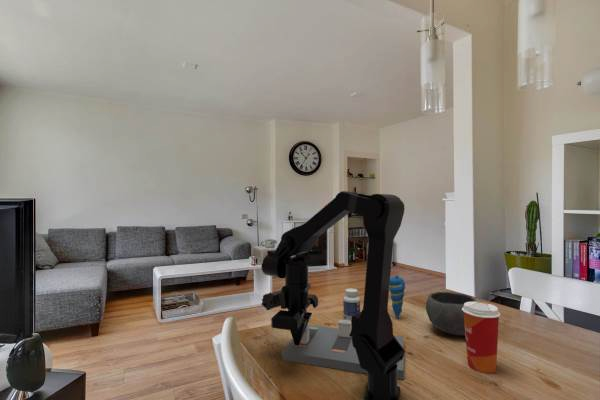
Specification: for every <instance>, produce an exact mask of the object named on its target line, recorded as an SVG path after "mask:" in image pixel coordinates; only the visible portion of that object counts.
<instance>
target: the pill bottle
mask: <svg viewBox="0 0 600 400" xmlns="http://www.w3.org/2000/svg"><path fill="white" fill-rule="evenodd" d="M344 294H345V295H344V297H343V301H342V303H343V320H348V321H351V319H352V316H353V315H355V314H358V313H360V312H361V299H360V297H359V296H358V295H359V293H358V289H356V288H346V289H345V293H344Z"/></svg>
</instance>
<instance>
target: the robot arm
mask: <svg viewBox="0 0 600 400" xmlns="http://www.w3.org/2000/svg"><path fill="white" fill-rule="evenodd" d="M349 213H352V214H354V215H358V216H362V224H363V228H364V230H365V232H366V234H367V238H368V239H367V241H368V242H367V243H368V244H367V256H366V258H367V259H366V269H365V281H364V293H363V304H362V305H363V307H362V310H361V311H360V313H358V314H355V315H353V316H352V319H351V325H352V329H351V333H350V335H349V336H352V344H353V347H354V348H355V349H356V353H357V356H358V360H359V363H360V367H361V368H362V369H365V370H366V371H367V374H366V375H367V382H366V387H365V391H364V396H363V400H401V387H400V385H398V384H399V383H398V379H397V363H398V362H399V361H401V360H402V359H403V357H404V358H405V354H406V349H405V348H404V349H403V347H402V346H401V345H400V343H399V342H398V341H397V339H396V338H395V337H394V335H395V334H394V330H393V329H394V328H393V320H392V319H391V315H390V314H389V311H388V309H389V308H388V307H389V305H388V304H389V297H390V296H389V294H390V290H389V288H390V278H391V271H392V258H393V248H394V247H393V246H394V240H395V238H396V235H397V234H398V231H399V230H400V227H401V225H402V223H403V222H402V221H403V218H404V214H405V204H404V201H403V200H402V199H401V198H400V197H399V196H397V195H394V194H389V193H388V194H387V193H385V194H384V193H373V194H369V195H368V194H364V193H358V192H356V191H349V190H348V191H347V190H346V191H345V190H343V191H340V192H338V193H337V194H336V195H335V197H334V198H333V199H331V200H330V201H329V202H328V203H327V204H325V206H324V207H322V208H321V209H320V210H319V211H318V212H316V213H315V214H314V215H313V216H312V217H311V218H309V219H308V220H307V221H306V222H304V223H303V224H300V225H299V226H295V227H293V228H291V229H289V230H287V231H285V232H284V233H283V234H281V237H280V242H279V243H278V246H277V247H276V249H271V250H267V252H266V253H267V254H266V256H265V257H263V260H262V263H261V271H262V273H263V274H264V275H266V276H270V277H273V278H278V279H285V280H284V281H285V282H284V283H285V285H283V286H282V288H281V289H280V290H277V291H274V292H271V291H270V292H269V293H265V294H263V295H262V299H261V301H262V302H261V306H263V308H264V309H266V311H271V309H274V308H275V309H276V308H277V307H280V310H279V311H278V312H276V314H274V315H273V316H272V317H271V319H270V321H271V322H270V323H271V324H270V325H271V328H272V329H278V330H286V331H289V332H290V334H291V337H292V339H293V341H294V344H295V345H299V344H300V342H301V339H302V337H303V334H304V332H305V329H306V327H307V325H309V322H310V319H311V317H312V315H313V313H312V312H308V311H307V309H308V308H309V307H310V305H312V307H313V309H316V308H317V307H318V306H319V298H318V296H317V295H316V294H314V293H313V294H312V293H311V294H310V293H309V290H310V289H311V283H309V266H312V265H315V264H316V261H315V260H314V259H313V258H312V257H311V256H310V254H305V253H309V252H310V251H311V250H312V249H313V248H314V246H315V245H316V244H317V242H318V239H319V238H320V236H322V235H323V234H324V233H326V232H327V231H328V230H329V229H331V228H332V227H333V226H335V225H336V224H337V223H338V222H339V221H341V220H342V219H343V218H345V217H346V216H347V215H349ZM301 254H303V255H302V256H299V255H301Z"/></svg>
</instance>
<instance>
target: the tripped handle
mask: <svg viewBox="0 0 600 400" xmlns="http://www.w3.org/2000/svg"><path fill="white" fill-rule="evenodd" d="M309 329H310V326H307V327H306V329H305V332H304V334H303V337H302V339H301V342H300V343H302V344H307V343H308V342H309Z"/></svg>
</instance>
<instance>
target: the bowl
mask: <svg viewBox="0 0 600 400" xmlns="http://www.w3.org/2000/svg"><path fill="white" fill-rule="evenodd" d="M466 302H478V303H479V301H478V300H477V299H476V298H474V297H473V296H472V295H468V294H466V293H465V294H464V293H460V292H459V293H458V292H450V291H436V292H433V293H430V294H428V297H427V299H426V302H425V310H426V315H427V317H428V319H429V321H430V323H432V325H433V326H435V327H436V328H437V329H438V330H440V331H441V332H444V333H447V334H450V335H455V336H465V324H464V311H462V308H463V307H464V303H466Z"/></svg>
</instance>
